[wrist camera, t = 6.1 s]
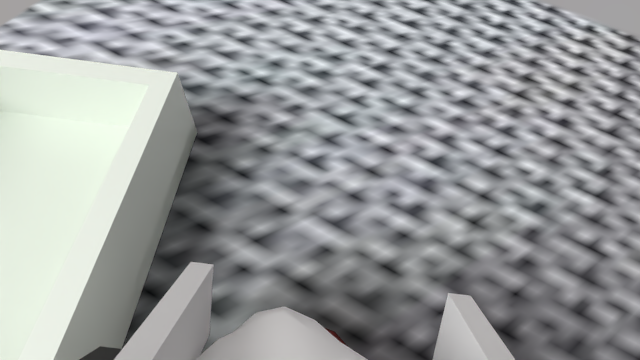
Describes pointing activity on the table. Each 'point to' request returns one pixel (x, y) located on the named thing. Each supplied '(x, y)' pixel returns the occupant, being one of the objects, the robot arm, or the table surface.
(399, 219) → the table surface
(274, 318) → the cocoa
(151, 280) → the table surface
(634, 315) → the table surface
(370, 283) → the table surface
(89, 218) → the bin
